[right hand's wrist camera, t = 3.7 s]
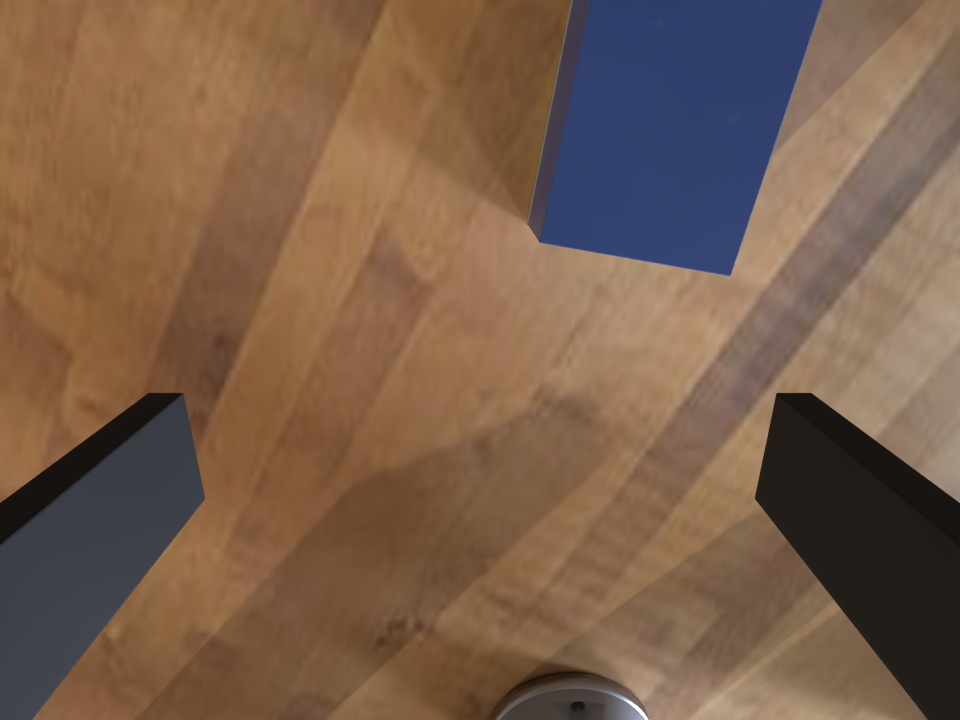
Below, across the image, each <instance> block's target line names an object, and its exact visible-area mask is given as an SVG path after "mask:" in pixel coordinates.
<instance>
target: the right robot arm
mask: <svg viewBox="0 0 960 720" xmlns="http://www.w3.org/2000/svg"><path fill="white" fill-rule="evenodd" d="M204 499H205V496H204V491H203V486H202V481H201V476H200V471H199V466H198V462H197V457H196V452H195V447H194V442H193V437H192V433H191V428H190V423H189V418H188V413H187V408H186V403H185V399H184V394H183V393H148V394H147V395H146V396H144V397H143V398H141V399H140V400H139V401H137V402H136V403H135V404H133V405H132V406H131V407H129V408H128V409H127V410H125V411H124V412H123V413H121V414H120V415H119V416H117V417H116V418H114V419H113V420H112V421H110V422H109V423H108V424H106V425H105V426H104V427H102V428H101V429H100V430H98V431H97V432H96V433H94V434H93V435H92V436H90V437H89V438H87V439H86V440H85V441H83V442H82V443H81V444H79V445H78V446H77V447H75V448H74V449H73V450H71V451H70V452H69V453H67V454H66V455H65V456H63V457H62V458H60V459H59V460H58V461H56V462H55V463H54V464H52V465H51V466H50V467H48V468H47V469H46V470H44V471H43V472H42V473H40V474H39V475H38V476H36V477H35V478H33V479H32V480H31V481H29V482H28V483H27V484H25V485H24V486H23V487H21V488H20V489H19V490H17V491H16V492H15V493H13V494H12V495H11V496H9V497H8V498H6V499H5V500H4V501H2V502H1V503H0V720H32V719H33V718H34V716H35V715H36V714H37V713H38V711H39V710H40V709H41V708H42V706H43V705H44V704H45V702H46V701H47V700H48V699H49V697H50V696H51V695H52V693H53V692H54V691H55V690H56V688H57V687H58V686H59V685H60V683H61V682H62V681H63V679H64V678H65V677H66V676H67V674H68V673H69V672H70V670H71V669H72V668H73V667H74V665H75V664H76V663H77V662H78V660H79V659H80V658H81V656H82V655H83V654H84V653H85V651H86V650H87V649H88V648H89V646H90V645H91V644H92V642H93V641H94V640H95V639H96V637H97V636H98V635H99V633H100V632H101V631H102V630H103V628H104V627H105V626H106V625H107V623H108V622H109V621H110V619H111V618H112V617H113V616H114V614H115V613H116V612H117V610H118V609H119V608H120V607H121V605H122V604H123V603H124V602H125V600H126V599H127V598H128V596H129V595H130V594H131V593H132V591H133V590H134V589H135V588H136V586H137V585H138V584H139V582H140V581H141V580H142V579H143V577H144V576H145V575H146V573H147V572H148V571H149V570H150V568H151V567H152V566H153V565H154V563H155V562H156V561H157V559H158V558H159V557H160V556H161V554H162V553H163V552H164V550H165V549H166V548H167V547H168V545H169V544H170V543H171V542H172V540H173V539H174V538H175V536H176V535H177V534H178V533H179V531H180V530H181V529H182V528H183V526H184V525H185V524H186V522H187V521H188V520H189V519H190V517H191V516H192V515H193V513H194V512H195V511H196V510H197V508H198V507H199V506H200V505H201V503H202V502H203V501H204ZM755 499H756V501H757V502H758V503H759V505H760V506H761V507H762V508H763V510H764V511H765V512H766V513H767V515H768V516H769V517H770V519H771V520H772V521H773V522H774V524H775V525H776V526H777V528H778V529H779V530H780V531H781V533H782V534H783V535H784V536H785V538H786V539H787V540H788V542H789V543H790V544H791V545H792V547H793V548H794V549H795V550H796V552H797V553H798V554H799V556H800V557H801V558H802V559H803V561H804V562H805V563H806V565H807V566H808V567H809V568H810V570H811V571H812V572H813V573H814V575H815V576H816V577H817V579H818V580H819V581H820V582H821V584H822V585H823V586H824V588H825V589H826V590H827V591H828V593H829V594H830V595H831V596H832V598H833V599H834V600H835V602H836V603H837V604H838V605H839V607H840V608H841V609H842V610H843V612H844V613H845V614H846V616H847V617H848V618H849V619H850V621H851V622H852V623H853V625H854V626H855V627H856V628H857V630H858V631H859V632H860V633H861V635H862V636H863V637H864V639H865V640H866V641H867V642H868V644H869V645H870V646H871V648H872V649H873V650H874V651H875V653H876V654H877V655H878V656H879V658H880V659H881V660H882V662H883V663H884V664H885V665H886V667H887V668H888V669H889V670H890V672H891V673H892V674H893V676H894V677H895V678H896V679H897V681H898V682H899V683H900V685H901V686H902V687H903V688H904V690H905V691H906V692H907V693H908V695H909V696H910V697H911V699H912V700H913V701H914V702H915V704H916V705H917V706H918V708H919V709H920V710H921V711H922V713H923V714H924V715H925V716H926V718H927V719H928V720H960V503H959V502H958V501H956V500H955V499H954V498H952V497H951V496H949V495H948V494H947V493H945V492H944V491H943V490H941V489H940V488H939V487H937V486H936V485H935V484H933V483H932V482H931V481H929V480H928V479H927V478H925V477H924V476H922V475H921V474H920V473H918V472H917V471H916V470H914V469H913V468H912V467H910V466H909V465H908V464H906V463H905V462H904V461H902V460H901V459H900V458H898V457H897V456H895V455H894V454H893V453H891V452H890V451H889V450H887V449H886V448H885V447H883V446H882V445H881V444H879V443H878V442H877V441H875V440H874V439H873V438H871V437H870V436H868V435H867V434H866V433H864V432H863V431H862V430H860V429H859V428H858V427H856V426H855V425H854V424H852V423H851V422H850V421H848V420H847V419H846V418H844V417H843V416H841V415H840V414H839V413H837V412H836V411H835V410H833V409H832V408H831V407H829V406H828V405H827V404H825V403H824V402H823V401H821V400H820V399H819V398H817V397H816V396H814V395H813V394H812V393H777V394H776V399H775V403H774V408H773V413H772V418H771V423H770V428H769V433H768V437H767V442H766V447H765V452H764V457H763V462H762V466H761V471H760V476H759V481H758V486H757V491H756V496H755ZM490 720H649V719H648V716H647V713H646V710H645V708H644V706H643V705H642V703H641V702H640V701H639V699H638V698H637V697H636V696H635V695H634V694H633V693H632V692H631V691H629V690H628V689H627V688H625V687H623V686H622V685H620V684H618V683H616V682H614V681H612V680H609V679H606V678H603V677H599V676H595V675H589V674H579V673H565V674H556V675H550V676H546V677H542V678H539V679H535V680H533V681H530V682H528V683H526V684H524V685H522V686H520V687H518V688H516V689H515V690H513V691H512V692H511V693H509V694H508V695H507V696H506V697H505V698H504V699H502V701H501V702H500V703H499V704H498V705H497V707H496V708H495V709H494V711H493V713H492V715H491V717H490Z"/></svg>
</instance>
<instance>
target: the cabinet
mask: <svg viewBox="0 0 960 720" xmlns="http://www.w3.org/2000/svg"><path fill="white" fill-rule="evenodd" d="M822 1H823V0H571V3H570V8H569V13H568V18H567V23H566V28H565V33H564V38H563V43H562V48H561V53H560V58H559V63H558V68H557V74H556V79H555V84H554V89H553V94H552V99H551V104H550V109H549V114H548V119H547V124H546V129H545V134H544V139H543V144H542V149H541V154H540V159H539V164H538V169H537V174H536V179H535V184H534V189H533V194H532V200H531V205H530V210H529V215H528V220H527V225H528V226H529V227H530V228H531V230H532V231H533V233H534V235H535V236H536V238H537V239H538V241H539V242H540V243H544V244H550V245H556V246H561V247H567V248H573V249H578V250H584V251H590V252H595V253H601V254H607V255H613V256H618V257H624V258H630V259H635V260H641V261H647V262H652V263H658V264H664V265H669V266H675V267H681V268H686V269H692V270H698V271H703V272H709V273H715V274H720V275H726V276H731V273H732V270H733V267H734V264H735V261H736V258H737V255H738V252H739V249H740V246H741V243H742V240H743V237H744V234H745V231H746V228H747V225H748V222H749V219H750V216H751V213H752V210H753V207H754V204H755V201H756V198H757V195H758V192H759V189H760V186H761V184H762V181H763V178H764V175H765V172H766V169H767V166H768V163H769V160H770V157H771V154H772V151H773V148H774V145H775V142H776V139H777V136H778V133H779V130H780V127H781V124H782V121H783V118H784V115H785V112H786V109H787V106H788V103H789V100H790V97H791V94H792V91H793V88H794V85H795V82H796V79H797V76H798V73H799V70H800V67H801V64H802V61H803V58H804V55H805V52H806V49H807V46H808V43H809V40H810V37H811V34H812V31H813V28H814V25H815V22H816V19H817V16H818V13H819V10H820V7H821V4H822Z"/></svg>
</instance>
